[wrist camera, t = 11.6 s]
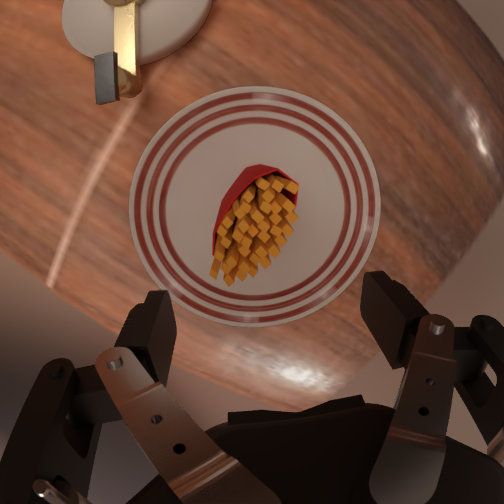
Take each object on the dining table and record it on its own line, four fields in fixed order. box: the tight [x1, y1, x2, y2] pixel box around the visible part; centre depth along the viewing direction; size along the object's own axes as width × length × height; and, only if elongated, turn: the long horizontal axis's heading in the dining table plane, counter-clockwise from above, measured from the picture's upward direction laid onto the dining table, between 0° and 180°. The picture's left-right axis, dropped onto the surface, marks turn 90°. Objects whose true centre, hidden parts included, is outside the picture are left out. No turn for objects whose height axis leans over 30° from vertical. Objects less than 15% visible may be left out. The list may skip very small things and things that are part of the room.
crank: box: [94, 0, 146, 105], centre depth 19 cm, size 16×5×7 cm, turn 4°
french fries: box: [209, 164, 300, 287], centre depth 25 cm, size 8×4×12 cm, turn 143°
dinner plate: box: [129, 86, 381, 327], centre depth 33 cm, size 28×27×3 cm
